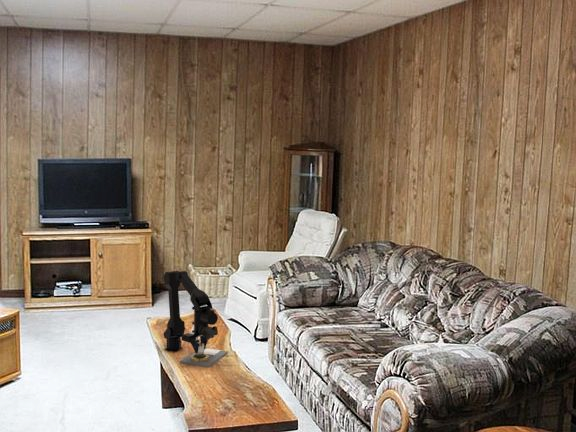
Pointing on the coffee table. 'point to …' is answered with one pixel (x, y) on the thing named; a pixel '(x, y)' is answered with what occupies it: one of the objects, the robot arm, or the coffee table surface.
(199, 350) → the peg
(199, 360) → the brass octagonal ring
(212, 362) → the board
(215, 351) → the mat
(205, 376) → the coffee table surface
